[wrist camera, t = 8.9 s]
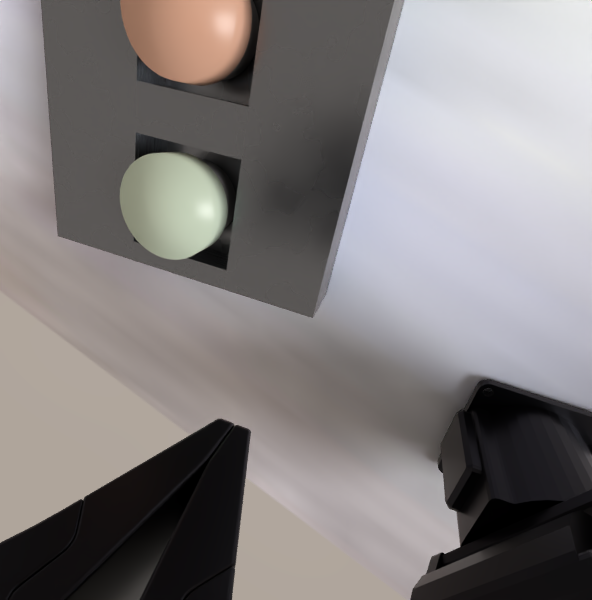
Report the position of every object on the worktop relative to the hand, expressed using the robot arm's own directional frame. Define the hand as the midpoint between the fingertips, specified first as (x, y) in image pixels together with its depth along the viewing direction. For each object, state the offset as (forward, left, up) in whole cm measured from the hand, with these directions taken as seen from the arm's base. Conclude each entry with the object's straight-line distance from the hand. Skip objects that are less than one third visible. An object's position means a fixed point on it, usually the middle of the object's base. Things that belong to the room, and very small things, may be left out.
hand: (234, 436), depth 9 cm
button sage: (+7, -2, -11) cm, 13 cm away
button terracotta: (+7, -9, -11) cm, 16 cm away
